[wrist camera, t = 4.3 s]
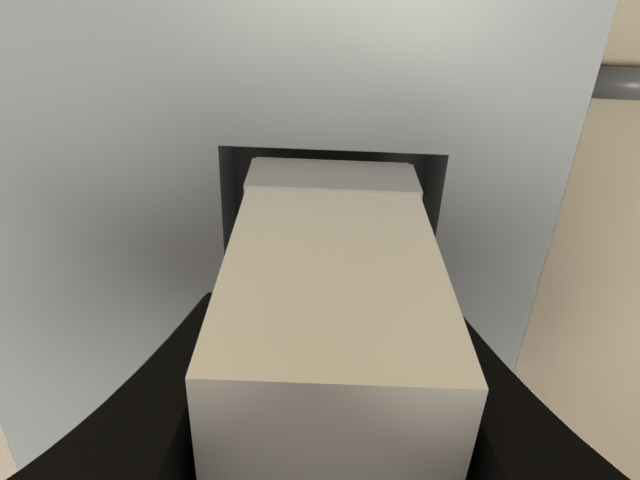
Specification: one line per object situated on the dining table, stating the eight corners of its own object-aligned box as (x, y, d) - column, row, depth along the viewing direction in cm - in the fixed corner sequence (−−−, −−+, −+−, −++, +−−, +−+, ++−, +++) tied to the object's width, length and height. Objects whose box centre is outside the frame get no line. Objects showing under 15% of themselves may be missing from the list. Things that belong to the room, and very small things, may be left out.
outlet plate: (451, 496, 20) (465, 561, 18) (66, 482, 20) (35, 546, 18) (589, -74, 11) (651, -77, 9) (-106, -105, 11) (-207, -114, 9)
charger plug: (391, 317, 13) (438, 599, 8) (257, 312, 13) (206, 591, 8) (411, 161, 11) (494, 386, 6) (253, 154, 11) (180, 374, 6)
